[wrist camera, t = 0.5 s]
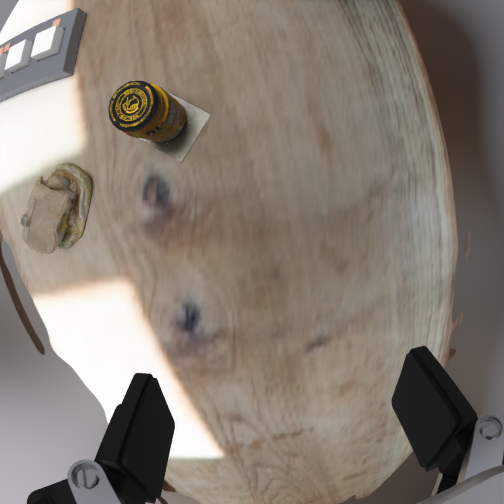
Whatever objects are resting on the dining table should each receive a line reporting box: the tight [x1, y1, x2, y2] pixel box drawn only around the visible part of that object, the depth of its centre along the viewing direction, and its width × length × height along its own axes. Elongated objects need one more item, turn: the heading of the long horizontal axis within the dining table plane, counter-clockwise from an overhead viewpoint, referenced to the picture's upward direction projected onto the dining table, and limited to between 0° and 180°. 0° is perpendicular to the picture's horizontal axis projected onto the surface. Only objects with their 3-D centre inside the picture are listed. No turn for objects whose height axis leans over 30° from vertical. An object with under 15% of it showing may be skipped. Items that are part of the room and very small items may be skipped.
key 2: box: [4, 39, 34, 72], centre depth 24 cm, size 4×4×4 cm
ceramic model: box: [20, 163, 91, 254], centre depth 31 cm, size 14×11×10 cm
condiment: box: [109, 81, 211, 162], centre depth 27 cm, size 7×8×12 cm
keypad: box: [0, 8, 87, 102], centre depth 26 cm, size 12×22×3 cm, turn 87°
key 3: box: [31, 25, 65, 61], centre depth 24 cm, size 4×4×4 cm
